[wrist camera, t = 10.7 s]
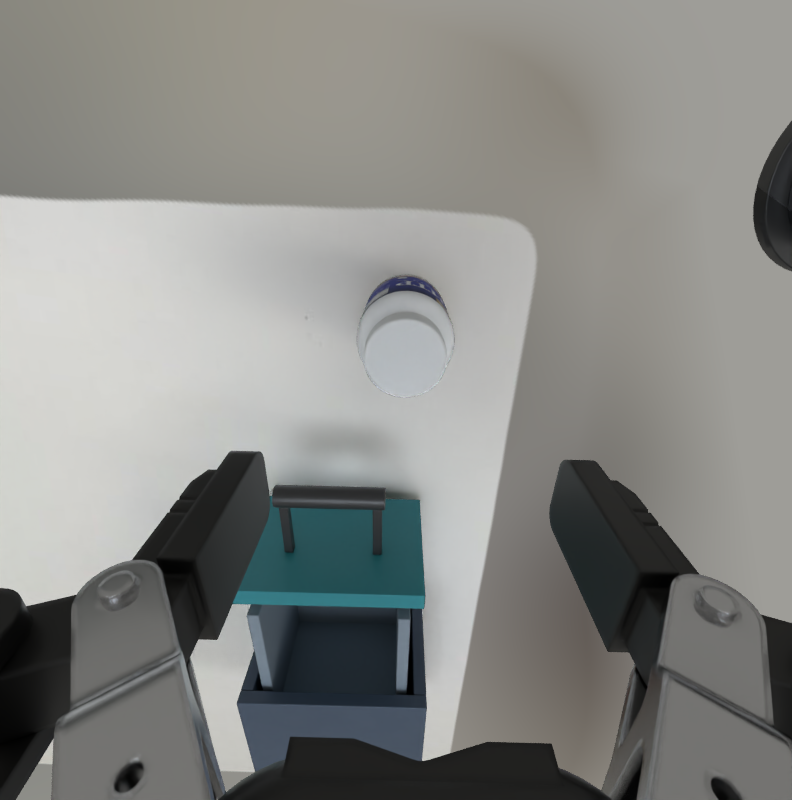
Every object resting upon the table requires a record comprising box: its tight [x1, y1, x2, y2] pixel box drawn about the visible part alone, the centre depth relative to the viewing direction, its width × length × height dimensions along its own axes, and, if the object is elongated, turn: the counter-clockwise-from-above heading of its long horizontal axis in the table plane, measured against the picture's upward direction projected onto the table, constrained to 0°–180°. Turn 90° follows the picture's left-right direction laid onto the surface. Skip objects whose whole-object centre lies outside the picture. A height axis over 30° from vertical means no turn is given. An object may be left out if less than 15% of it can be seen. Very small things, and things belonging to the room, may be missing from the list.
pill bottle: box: [357, 275, 455, 398], centre depth 23 cm, size 5×5×9 cm
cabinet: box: [237, 608, 427, 772], centre depth 37 cm, size 16×13×11 cm
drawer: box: [233, 485, 425, 695], centre depth 31 cm, size 20×12×9 cm, turn 179°
